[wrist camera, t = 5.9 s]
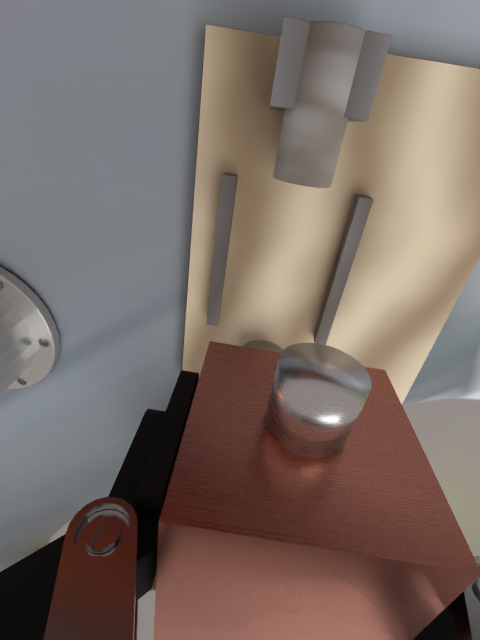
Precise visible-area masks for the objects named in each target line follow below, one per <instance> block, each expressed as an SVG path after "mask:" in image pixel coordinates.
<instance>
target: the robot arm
mask: <svg viewBox="0 0 480 640" xmlns="http://www.w3.org/2000/svg"><path fill="white" fill-rule="evenodd" d="M59 352H60V340H59V334H58V331H57V327H56V324H55V322H54V320H53V318H52V316H51V314H50V312H49V311H48V309H47V308H46V306H45V305H44V304H43V302H42V301H41V300H40V298H39V297H38V296H37V295H36V294H35V293H34V292H33V291H32V290H31V289H30V288H29V287H28V286H27V285H26V284H25V283H23V282H22V281H21V280H19V279H18V278H17V277H16V276H14V275H13V274H11V273H10V272H8V271H6V270H5V269H3V268H1V267H0V395H1V394H2V393H3V392H4V391H5V390H6V389H22V388H26V387H30V386H32V385H34V384H36V383H38V382H40V381H41V380H42V379H44V378H45V377H46V376H47V375H48V374H49V372H50V371H51V370H52V369H53V368H54V366H55V365H56V362H57V360H58V358H59ZM198 380H199V373H197V372H191V371H185V370H181V372H180V374H179V377H178V380H177V383H176V385H175V388H174V391H173V393H172V396H171V399H170V402H169V404H168V407H167V410H166V412H164V411H158V410H152V409H148V410H147V411H146V412H145V414H144V416H143V419H142V421H141V423H140V426H139V428H138V430H137V432H136V435H135V437H134V439H133V442H132V444H131V446H130V448H129V451H128V453H127V455H126V458H125V460H124V462H123V464H122V467H121V469H120V471H119V474H118V476H117V478H116V480H115V483H114V485H113V487H112V490H111V492H110V494H109V496H108V497H104V498H100V499H96V500H94V501H92V502H90V503H88V504H87V505H85V506H84V507H83V508H82V509H81V510H79V511H78V512H77V513H76V514H75V516H74V517H73V519H72V520H71V522H70V523H69V526H68V529H67V531H66V534H65V535H63V536H61V537H60V538H58V539H56V540H55V541H53V542H51V543H49V544H48V545H46V546H44V547H43V548H41V549H39V550H37V551H36V552H34V553H32V554H31V555H29V556H27V557H25V558H24V559H22V560H20V561H19V562H17V563H15V564H13V565H12V566H10V567H8V568H7V569H5V570H3V571H1V572H0V640H137V624H138V599H139V598H140V597H142V596H143V595H144V594H146V593H147V592H148V591H149V590H151V589H152V586H153V582H154V578H155V576H156V573H157V550H158V526H159V519H160V515H161V512H162V508H163V505H164V501H165V498H166V494H167V490H168V487H169V483H170V480H171V476H172V473H173V469H174V466H175V462H176V459H177V455H178V451H179V448H180V444H181V441H182V437H183V434H184V430H185V427H186V423H187V420H188V416H189V412H190V409H191V405H192V402H193V398H194V395H195V391H196V388H197V384H198ZM473 557H474V559H475V561H476V563H477V565H478V567H479V569H480V556H473ZM412 640H480V576H479V577H478V578H477V579H476V580H475V581H474V582H473V583H472V584H471V585H470V586H469V587H468V588H466V589H465V590H464V591H463V592H462V593H461V594H460V595H459V596H458V597H457V598H456V599H455V600H454V601H453V602H452V603H451V604H450V605H448V606H447V607H446V608H445V609H444V610H443V611H442V612H441V613H440V614H439V615H438V616H437V617H436V618H435V619H434V620H433V621H432V622H430V623H429V624H428V625H427V626H426V627H425V628H424V629H423V630H422V631H421V632H420V633H419V634H418V635H417V636H416V637H415V638H414V639H412Z"/></svg>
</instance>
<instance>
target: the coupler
mask: <svg viewBox="0 0 480 640" xmlns="http://www.w3.org/2000/svg"><path fill="white" fill-rule="evenodd" d="M479 576H480V569H479V567H478V565H477V563H476V561H475V559H474V557H473V555H472V552H471V550H470V548H469V546H468V544H467V542H466V540H465V538H464V536H463V533H462V531H461V529H460V527H459V525H458V523H457V521H456V519H455V516H454V514H453V512H452V510H451V508H450V506H449V504H448V502H447V500H446V497H445V495H444V493H443V491H442V489H441V487H440V485H439V483H438V480H437V478H436V476H435V474H434V472H433V470H432V468H431V466H430V464H429V461H428V459H427V457H426V455H425V453H424V451H423V449H422V447H421V445H420V442H419V440H418V438H417V436H416V434H415V432H414V430H413V428H412V425H411V423H410V421H409V419H408V417H407V415H406V413H405V411H404V409H403V406H402V404H401V402H400V400H399V398H398V396H397V394H396V392H395V390H394V387H393V385H392V383H391V381H390V379H389V377H388V375H387V373H386V371H385V370H382V369H376V368H370V367H364V366H362V365H361V364H360V363H359V362H358V361H357V360H356V359H355V358H353V357H352V356H350V355H348V354H347V353H345V352H343V351H341V350H339V349H336V348H334V347H331V346H327V345H324V344H319V343H297V344H293V345H291V346H289V347H287V348H285V349H284V350H283V351H282V352H281V353H279V352H273V351H267V350H261V349H255V348H249V347H243V346H237V345H231V344H225V343H219V342H213V341H209V345H208V349H207V352H206V356H205V359H204V363H203V366H202V370H201V373H200V377H199V380H198V384H197V388H196V391H195V395H194V398H193V402H192V405H191V409H190V412H189V416H188V420H187V423H186V427H185V430H184V434H183V437H182V441H181V444H180V448H179V451H178V455H177V459H176V462H175V466H174V469H173V473H172V476H171V480H170V483H169V487H168V490H167V494H166V498H165V501H164V505H163V508H162V512H161V515H160V519H159V526H158V550H157V573H156V596H155V619H154V620H155V621H154V640H412V639H414V638H415V637H416V636H417V635H418V634H419V633H420V632H421V631H422V630H423V629H424V628H425V627H426V626H427V625H428V624H429V623H430V622H432V621H433V620H434V619H435V618H436V617H437V616H438V615H439V614H440V613H441V612H442V611H443V610H444V609H445V608H446V607H447V606H448V605H450V604H451V603H452V602H453V601H454V600H455V599H456V598H457V597H458V596H459V595H460V594H461V593H462V592H463V591H464V590H465V589H466V588H468V587H469V586H470V585H471V584H472V583H473V582H474V581H475V580H476V579H477V578H478V577H479Z"/></svg>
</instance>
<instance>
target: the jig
mask: <svg viewBox="0 0 480 640" xmlns="http://www.w3.org/2000/svg"><path fill="white" fill-rule="evenodd" d="M391 39H392V35H390V34H384V33H378V32H371V31H366V30H364V29H361V28H359V27H356V26H352V25H348V24H344V23H338V22H328V21H312V22H310V21H303V20H297V19H291V18H285V17H284V19H283V26H282V32H281V37H280V36H273V35H267V34H261V33H255V32H249V31H243V30H236V29H230V28H224V27H218V26H212V25H206V34H205V48H204V63H203V77H202V92H201V106H200V120H199V135H198V149H197V164H196V178H195V193H194V207H193V222H192V236H191V251H190V265H189V279H188V294H187V308H186V323H185V337H184V352H183V366H182V370H185V371H191V372H197V373H199V377H200V373H201V370H202V366H203V363H204V359H205V356H206V352H207V349H208V345H209V341H213V342H219V343H225V344H231V345H237V346H243V347H249V348H255V349H261V350H267V351H273V352H279V353H281V352H282V351H283V350H284V349H285V348H287V347H289V346H291V345H293V344H297V343H319V344H324V345H327V346H331V347H334V348H336V349H339V350H341V351H343V352H345V353H347V354H348V355H350V356H352V357H353V358H355V359H356V360H357V361H358V362H359V363H360V364H361V365H362V366H364V367H370V368H376V369H382V370H385V371H386V373H387V375H388V377H389V379H390V381H391V383H392V385H393V387H394V390H395V392H396V394H397V396H398V398H399V400H400V402H401V404H402V403H403V401H404V399H405V397H406V395H407V394H408V392H409V390H410V388H411V386H412V384H413V382H414V380H415V378H416V376H417V375H418V373H419V371H420V369H421V367H422V365H423V363H424V361H425V359H426V358H427V356H428V354H429V352H430V350H431V348H432V346H433V344H434V342H435V341H436V339H437V337H438V335H439V333H440V331H441V329H442V327H443V325H444V323H445V322H446V320H447V318H448V316H449V314H450V312H451V310H452V308H453V306H454V305H455V303H456V301H457V299H458V297H459V295H460V293H461V291H462V289H463V288H464V286H465V284H466V282H467V280H468V278H469V276H470V274H471V272H472V270H473V269H474V267H475V265H476V263H477V261H478V259H479V257H480V69H477V68H471V67H465V66H458V65H452V64H446V63H440V62H434V61H428V60H421V59H415V58H409V57H403V56H397V55H391V54H387V53H388V49H389V46H390V42H391Z"/></svg>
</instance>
